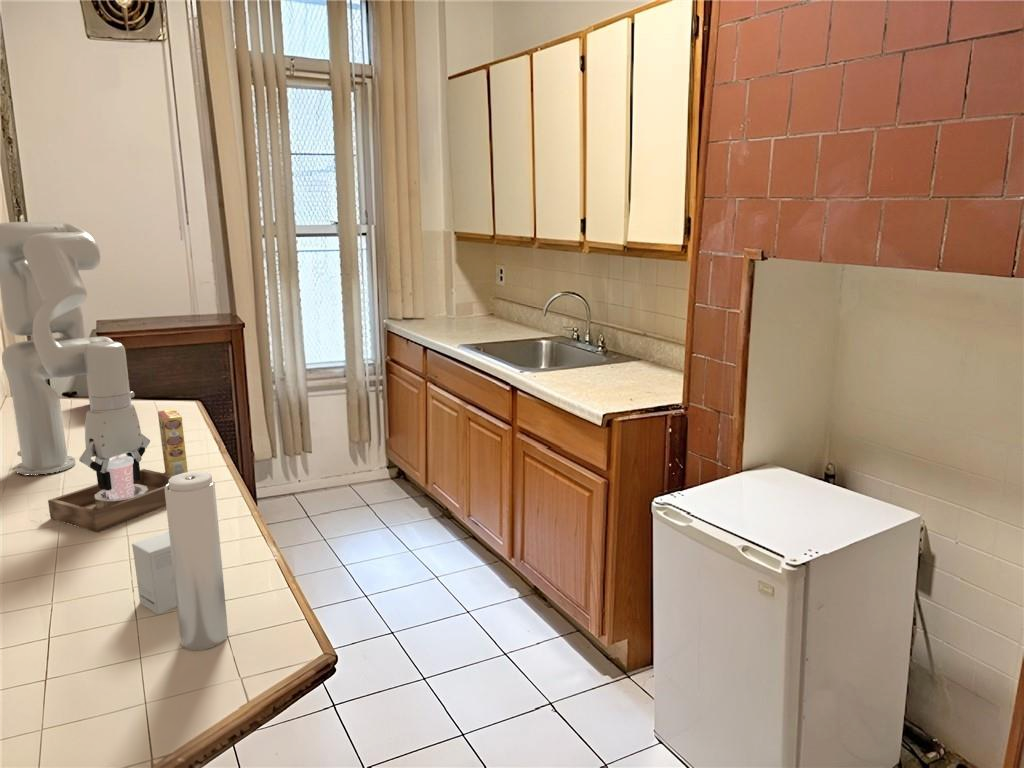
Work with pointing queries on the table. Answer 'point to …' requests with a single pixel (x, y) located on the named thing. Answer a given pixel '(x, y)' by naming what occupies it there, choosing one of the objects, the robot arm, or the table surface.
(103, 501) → the socket ring
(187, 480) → the white tall cylinder
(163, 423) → the candy box
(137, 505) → the walnut box
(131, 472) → the beverage cup
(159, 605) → the skincare box
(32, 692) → the table surface
